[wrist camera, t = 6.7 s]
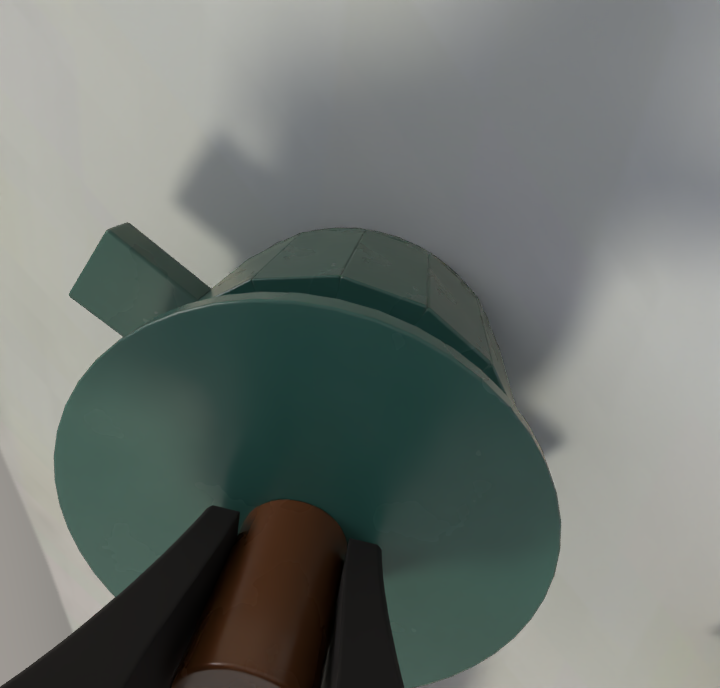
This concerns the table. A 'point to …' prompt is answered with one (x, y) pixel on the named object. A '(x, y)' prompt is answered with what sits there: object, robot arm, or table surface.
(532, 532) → the green pot lid
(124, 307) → the green cooking pot
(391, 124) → the table surface
